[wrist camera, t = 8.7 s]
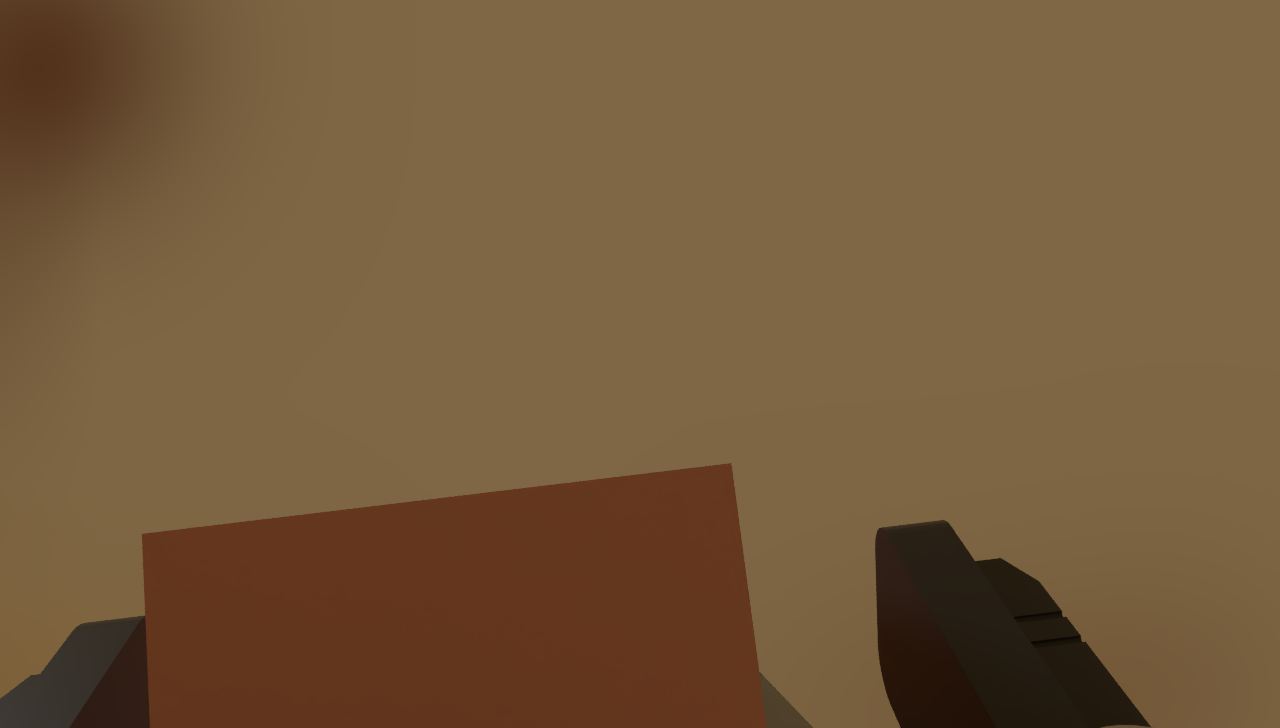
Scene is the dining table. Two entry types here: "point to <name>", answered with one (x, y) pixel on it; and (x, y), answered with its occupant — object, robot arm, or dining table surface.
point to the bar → (463, 613)
